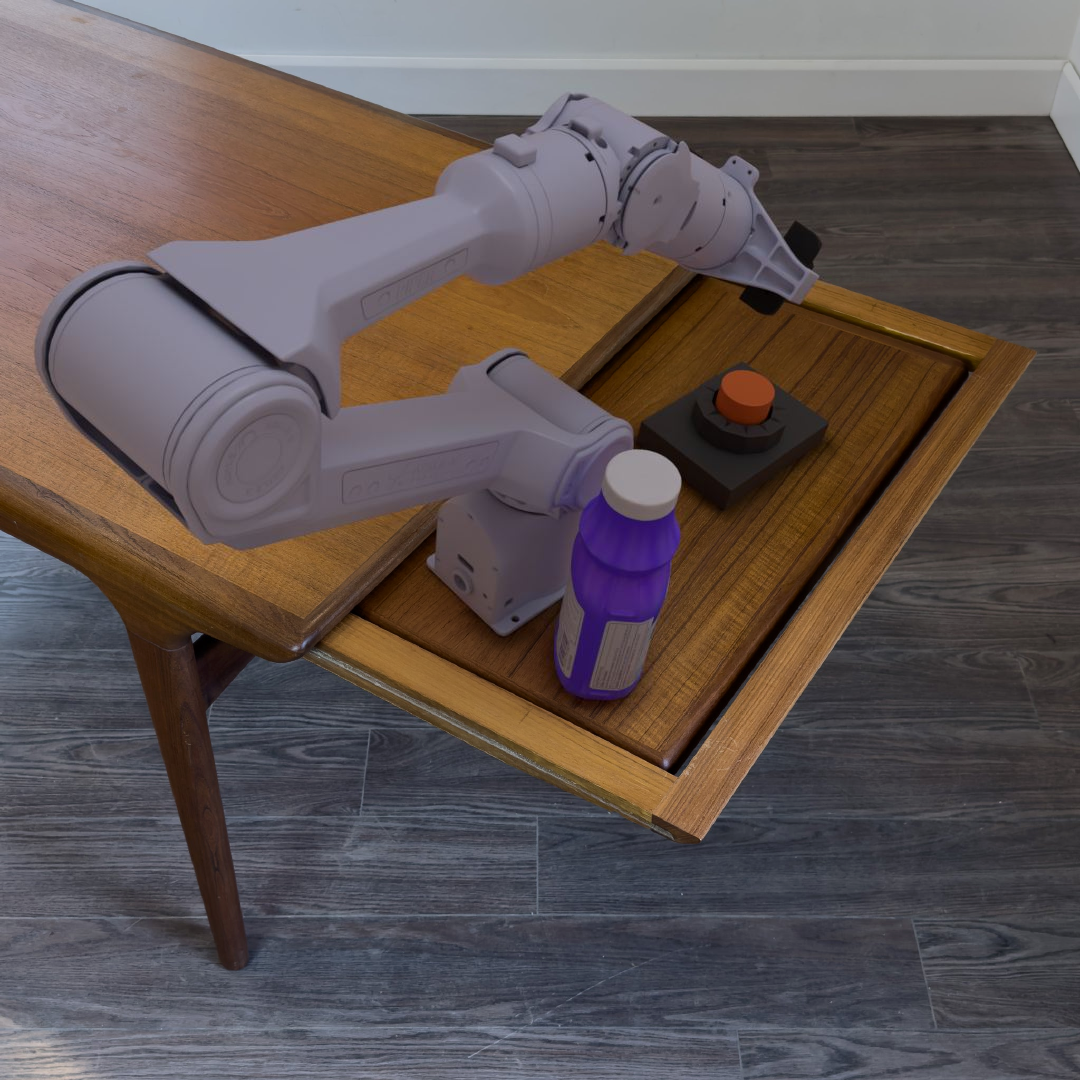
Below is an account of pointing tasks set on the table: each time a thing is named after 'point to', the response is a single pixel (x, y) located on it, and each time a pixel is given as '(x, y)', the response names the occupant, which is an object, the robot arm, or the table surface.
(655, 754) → the table surface
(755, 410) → the push button
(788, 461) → the button base
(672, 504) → the bottle
